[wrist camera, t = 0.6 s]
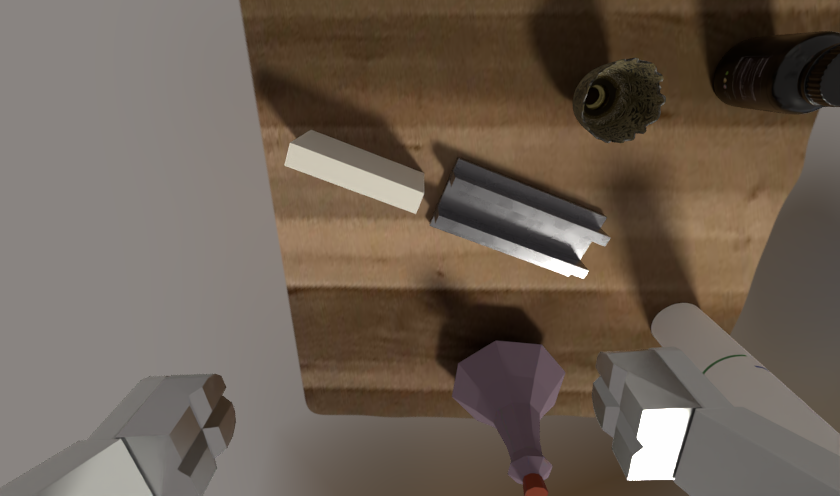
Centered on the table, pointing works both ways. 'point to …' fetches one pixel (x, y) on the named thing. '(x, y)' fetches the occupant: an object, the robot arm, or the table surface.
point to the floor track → (517, 219)
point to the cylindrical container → (739, 373)
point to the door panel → (356, 170)
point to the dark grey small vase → (620, 100)
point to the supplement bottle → (782, 73)
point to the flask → (513, 402)
